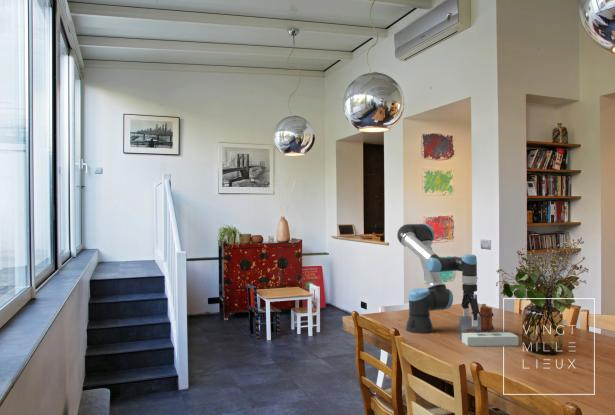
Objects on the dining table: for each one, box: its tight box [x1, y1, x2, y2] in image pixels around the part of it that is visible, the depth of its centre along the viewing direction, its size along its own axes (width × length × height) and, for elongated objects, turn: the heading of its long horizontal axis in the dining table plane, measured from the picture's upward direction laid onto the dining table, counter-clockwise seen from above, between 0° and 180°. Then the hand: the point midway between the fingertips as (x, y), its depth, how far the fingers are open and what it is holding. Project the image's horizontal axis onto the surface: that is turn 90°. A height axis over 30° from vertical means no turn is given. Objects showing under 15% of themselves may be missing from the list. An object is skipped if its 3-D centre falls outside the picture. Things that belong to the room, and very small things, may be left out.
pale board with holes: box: [461, 331, 519, 347], centre depth 257 cm, size 26×9×4 cm, turn 91°
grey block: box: [458, 315, 481, 341], centre depth 266 cm, size 11×3×12 cm, turn 91°
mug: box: [478, 303, 495, 333], centre depth 281 cm, size 15×8×15 cm, turn 168°
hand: (470, 323), depth 266 cm, fingers open, 13 cm apart
